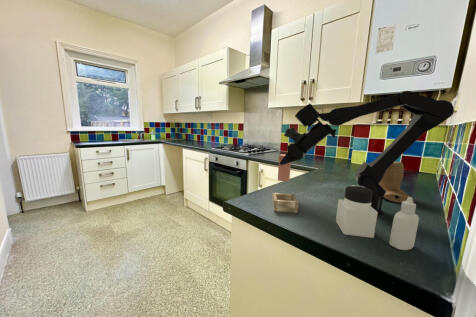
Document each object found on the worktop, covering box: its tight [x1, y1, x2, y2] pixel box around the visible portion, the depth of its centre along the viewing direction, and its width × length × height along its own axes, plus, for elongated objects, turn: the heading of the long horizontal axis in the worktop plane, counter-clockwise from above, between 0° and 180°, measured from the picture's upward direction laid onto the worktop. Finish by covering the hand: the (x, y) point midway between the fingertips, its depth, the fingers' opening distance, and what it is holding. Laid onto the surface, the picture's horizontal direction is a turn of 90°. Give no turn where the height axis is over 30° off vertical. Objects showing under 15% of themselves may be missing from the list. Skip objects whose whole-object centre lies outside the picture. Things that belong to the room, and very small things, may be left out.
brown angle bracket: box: [379, 161, 415, 204], centre depth 77 cm, size 15×12×15 cm
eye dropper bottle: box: [389, 196, 420, 251], centre depth 44 cm, size 4×6×12 cm
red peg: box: [277, 153, 292, 183], centre depth 75 cm, size 4×4×10 cm
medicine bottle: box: [335, 184, 379, 239], centre depth 51 cm, size 7×7×12 cm
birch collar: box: [271, 192, 299, 214], centre depth 65 cm, size 8×8×4 cm
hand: (281, 163), depth 75 cm, fingers closed on red peg, 4 cm apart
